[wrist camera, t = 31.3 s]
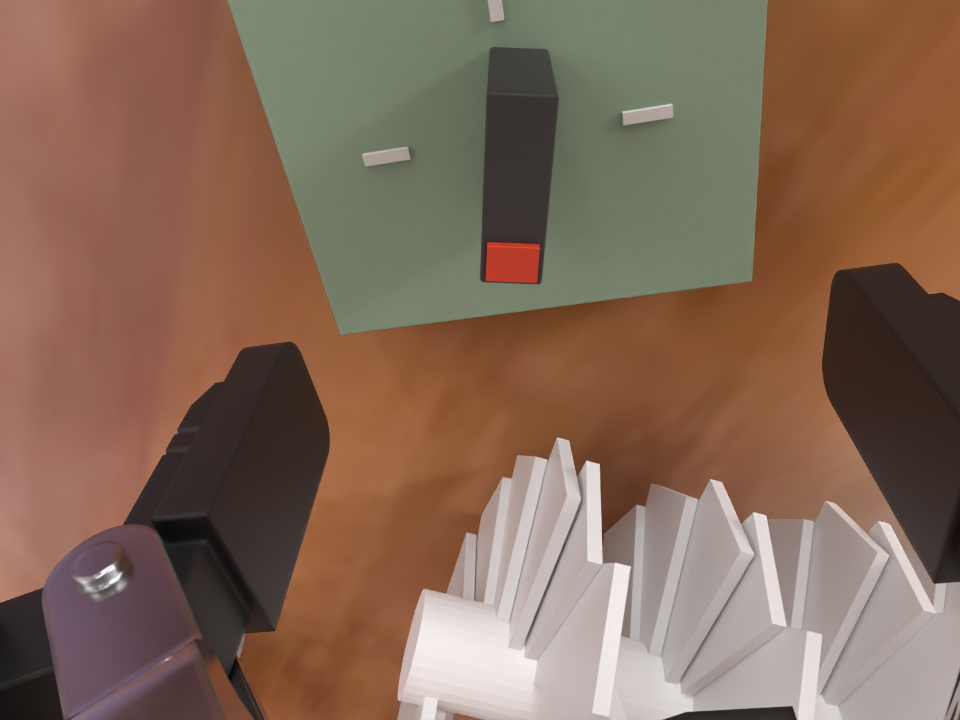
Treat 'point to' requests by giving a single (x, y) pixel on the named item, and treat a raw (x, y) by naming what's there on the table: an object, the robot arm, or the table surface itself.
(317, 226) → the control panel
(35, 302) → the table surface
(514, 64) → the black block red tip
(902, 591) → the spiral staircase
